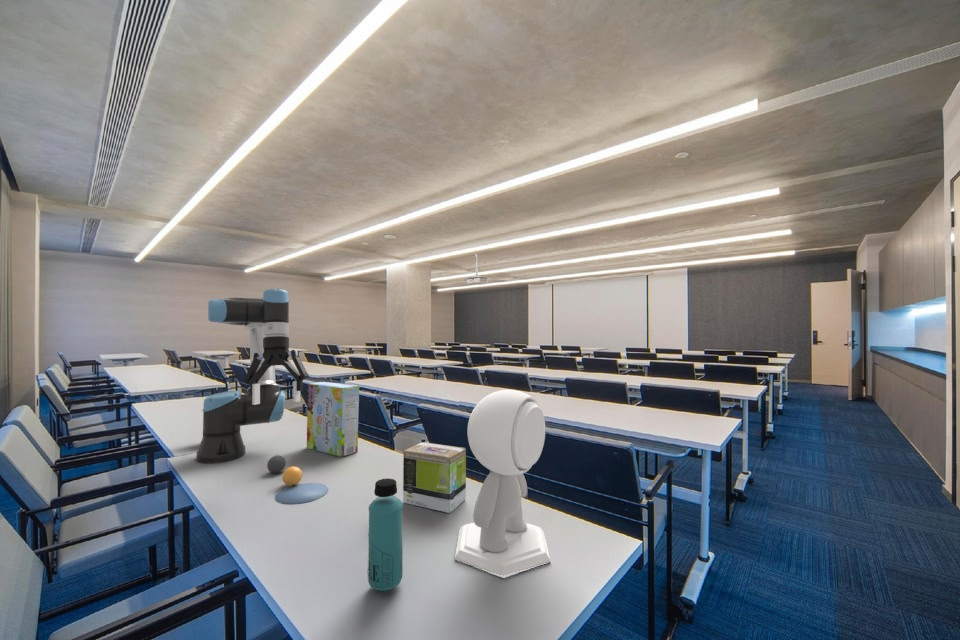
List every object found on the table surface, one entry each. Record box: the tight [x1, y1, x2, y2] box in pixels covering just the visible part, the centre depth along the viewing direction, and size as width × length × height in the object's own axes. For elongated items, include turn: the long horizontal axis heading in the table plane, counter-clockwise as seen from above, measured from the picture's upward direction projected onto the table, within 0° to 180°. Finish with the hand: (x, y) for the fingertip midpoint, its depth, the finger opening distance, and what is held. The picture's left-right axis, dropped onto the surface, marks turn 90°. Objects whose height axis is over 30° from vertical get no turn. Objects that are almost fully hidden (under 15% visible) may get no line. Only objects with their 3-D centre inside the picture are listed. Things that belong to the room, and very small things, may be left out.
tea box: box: [402, 441, 467, 514], centre depth 111 cm, size 15×10×15 cm
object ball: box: [281, 466, 303, 487], centre depth 121 cm, size 6×6×6 cm
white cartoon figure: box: [454, 389, 551, 576], centre depth 89 cm, size 20×23×35 cm
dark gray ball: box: [266, 454, 287, 474], centre depth 131 cm, size 6×6×6 cm
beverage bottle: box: [367, 478, 404, 592], centre depth 74 cm, size 6×7×20 cm
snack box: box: [306, 381, 360, 458], centre depth 155 cm, size 22×9×26 cm, turn 58°
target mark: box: [274, 482, 329, 505], centre depth 115 cm, size 14×14×1 cm
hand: (276, 403), depth 126 cm, fingers open, 13 cm apart
